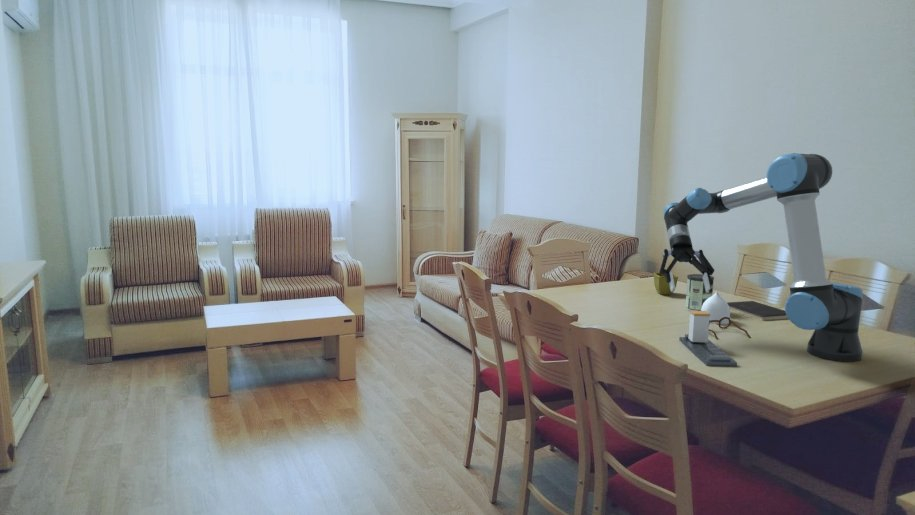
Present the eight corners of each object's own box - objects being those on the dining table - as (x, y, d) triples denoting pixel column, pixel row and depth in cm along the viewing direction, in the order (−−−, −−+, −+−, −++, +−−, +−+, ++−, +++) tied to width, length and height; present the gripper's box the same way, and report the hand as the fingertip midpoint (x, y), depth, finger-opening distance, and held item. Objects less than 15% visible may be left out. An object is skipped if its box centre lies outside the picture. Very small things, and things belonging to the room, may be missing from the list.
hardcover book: (762, 321, 240) (762, 316, 240) (721, 308, 262) (722, 302, 261) (795, 319, 244) (796, 313, 244) (753, 305, 266) (753, 300, 266)
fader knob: (688, 338, 209) (690, 310, 208) (703, 338, 209) (705, 310, 207) (692, 342, 205) (694, 313, 204) (707, 342, 205) (710, 313, 203)
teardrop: (697, 316, 246) (699, 286, 244) (726, 318, 244) (729, 288, 242) (702, 323, 235) (704, 292, 233) (733, 325, 233) (735, 294, 231)
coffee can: (708, 307, 260) (711, 274, 258) (713, 313, 250) (716, 279, 248) (683, 306, 262) (685, 273, 260) (687, 311, 252) (689, 278, 250)
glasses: (728, 329, 229) (729, 316, 228) (751, 339, 216) (752, 325, 215) (696, 330, 226) (697, 317, 226) (716, 340, 214) (718, 326, 213)
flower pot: (677, 295, 282) (678, 276, 280) (657, 295, 282) (659, 276, 280) (670, 291, 290) (672, 273, 289) (652, 291, 290) (653, 272, 289)
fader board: (679, 340, 212) (679, 333, 212) (705, 340, 212) (706, 334, 212) (706, 365, 187) (707, 357, 186) (736, 366, 186) (737, 358, 186)
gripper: (709, 246, 230) (721, 296, 217) (644, 245, 231) (653, 295, 218) (715, 234, 224) (729, 284, 211) (649, 233, 225) (658, 283, 212)
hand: (690, 290), depth 215 cm, fingers open, 11 cm apart
